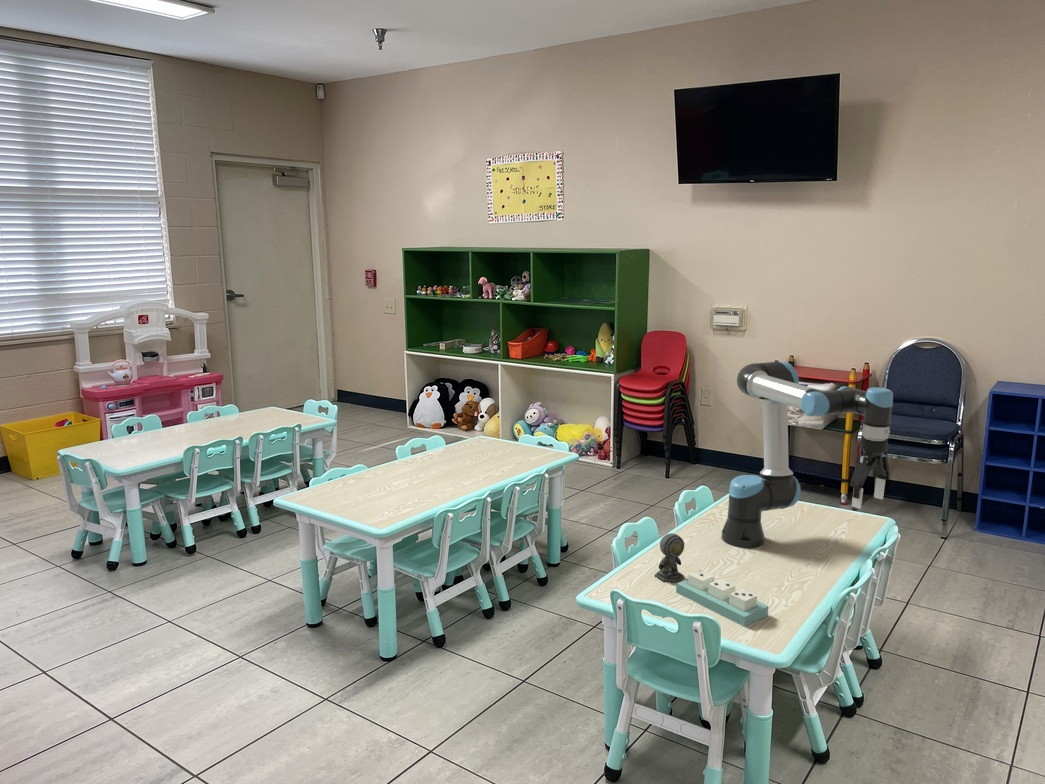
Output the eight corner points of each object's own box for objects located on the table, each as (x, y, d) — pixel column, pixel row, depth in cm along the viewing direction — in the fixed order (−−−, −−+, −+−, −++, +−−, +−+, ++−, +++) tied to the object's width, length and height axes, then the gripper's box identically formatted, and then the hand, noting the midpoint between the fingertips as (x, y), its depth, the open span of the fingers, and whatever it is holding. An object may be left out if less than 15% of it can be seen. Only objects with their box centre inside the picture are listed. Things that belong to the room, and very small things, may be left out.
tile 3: (728, 606, 230) (729, 592, 229) (740, 601, 233) (741, 587, 232) (744, 613, 225) (745, 600, 224) (756, 608, 229) (757, 595, 228)
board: (676, 592, 243) (676, 583, 242) (699, 583, 249) (700, 574, 249) (743, 626, 223) (744, 616, 222) (767, 615, 229) (768, 606, 228)
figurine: (668, 585, 248) (670, 541, 245) (649, 573, 256) (651, 530, 253) (689, 580, 252) (692, 536, 248) (670, 568, 260) (672, 526, 257)
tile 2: (707, 595, 236) (708, 583, 235) (719, 591, 239) (720, 578, 238) (722, 603, 232) (723, 589, 231) (734, 597, 235) (735, 585, 234)
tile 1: (687, 586, 242) (688, 573, 242) (699, 581, 246) (700, 569, 245) (701, 592, 238) (702, 580, 237) (713, 588, 241) (714, 575, 240)
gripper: (865, 447, 230) (858, 515, 234) (906, 434, 245) (898, 497, 249) (842, 441, 235) (835, 507, 240) (883, 429, 250) (876, 491, 255)
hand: (867, 502), depth 245 cm, fingers open, 13 cm apart
